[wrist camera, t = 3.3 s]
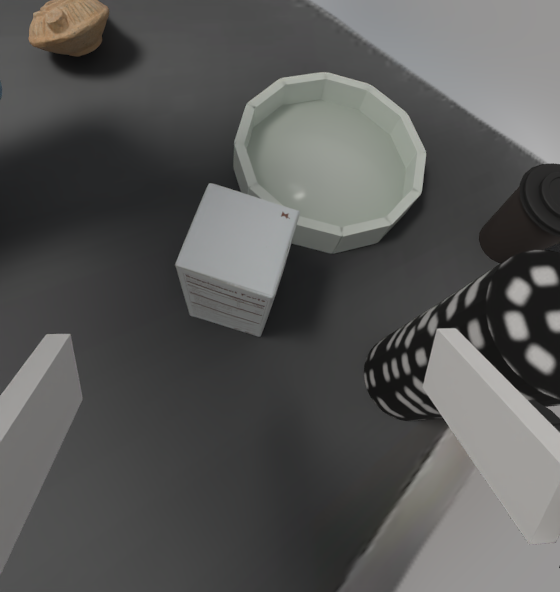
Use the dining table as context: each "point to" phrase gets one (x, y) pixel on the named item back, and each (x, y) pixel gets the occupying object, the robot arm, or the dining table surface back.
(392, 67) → the dining table surface
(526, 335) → the white-spotted black cylinder
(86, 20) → the pottery oil lamp
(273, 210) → the supplement box
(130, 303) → the dining table surface
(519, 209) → the coffee cup
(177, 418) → the dining table surface
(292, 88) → the bowl
